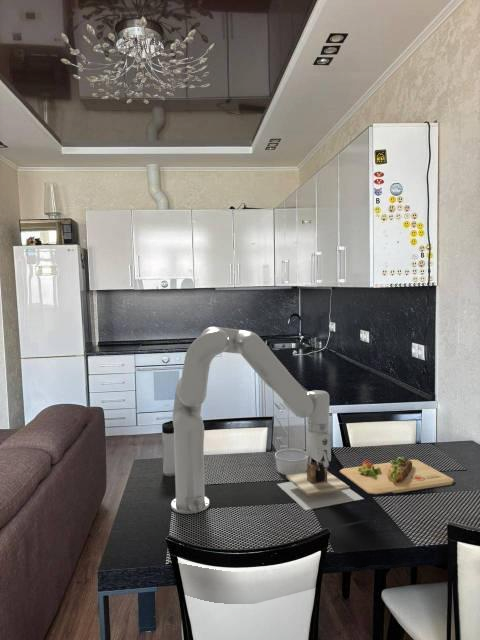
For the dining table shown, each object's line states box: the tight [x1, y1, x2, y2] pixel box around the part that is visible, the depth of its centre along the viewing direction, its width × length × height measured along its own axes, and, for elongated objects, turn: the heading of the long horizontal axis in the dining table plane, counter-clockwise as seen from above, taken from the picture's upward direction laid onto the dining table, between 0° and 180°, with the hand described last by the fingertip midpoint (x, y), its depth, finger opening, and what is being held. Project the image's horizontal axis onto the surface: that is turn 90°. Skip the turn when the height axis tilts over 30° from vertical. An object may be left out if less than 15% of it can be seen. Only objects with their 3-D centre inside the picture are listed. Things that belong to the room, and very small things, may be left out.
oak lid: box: [285, 462, 351, 496], centre depth 166 cm, size 16×16×7 cm
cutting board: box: [339, 456, 455, 495], centre depth 179 cm, size 35×23×8 cm
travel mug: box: [161, 420, 175, 477], centre depth 186 cm, size 6×7×20 cm
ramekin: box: [274, 448, 309, 476], centre depth 186 cm, size 13×13×7 cm
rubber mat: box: [276, 481, 365, 511], centre depth 166 cm, size 22×22×1 cm
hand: (317, 478), depth 166 cm, fingers closed on oak lid, 3 cm apart
